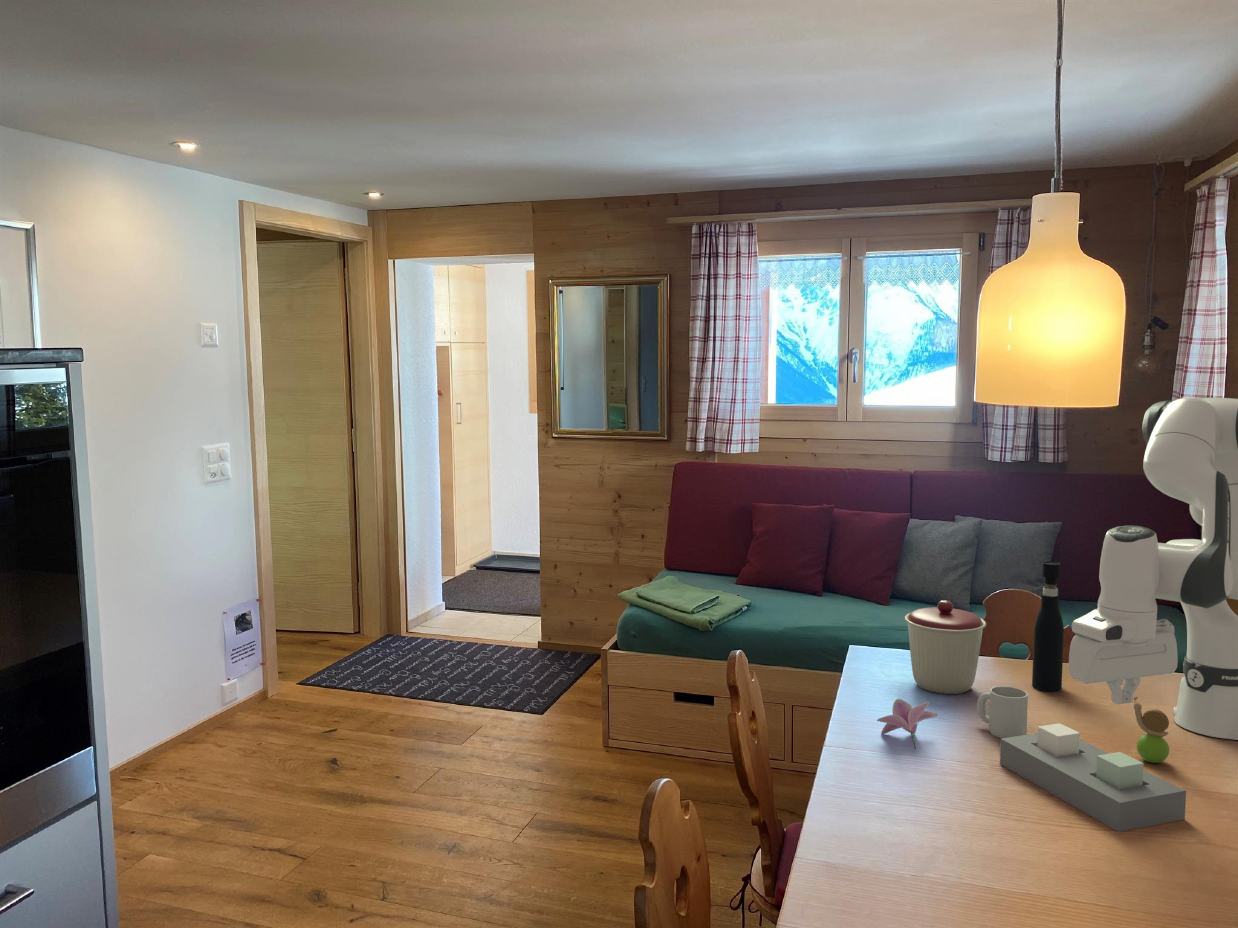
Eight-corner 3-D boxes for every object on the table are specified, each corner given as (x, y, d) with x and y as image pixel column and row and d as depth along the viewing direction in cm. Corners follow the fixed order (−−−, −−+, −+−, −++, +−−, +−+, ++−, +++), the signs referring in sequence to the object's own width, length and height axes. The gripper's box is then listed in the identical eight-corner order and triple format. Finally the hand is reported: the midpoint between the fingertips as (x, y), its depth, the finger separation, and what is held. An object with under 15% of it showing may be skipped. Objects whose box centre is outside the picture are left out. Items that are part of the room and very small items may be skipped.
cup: (1019, 743, 188) (1021, 700, 187) (970, 731, 194) (971, 689, 194) (1031, 732, 193) (1032, 691, 192) (982, 721, 200) (984, 680, 199)
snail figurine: (1135, 751, 183) (1138, 692, 182) (1172, 761, 179) (1175, 700, 177) (1126, 760, 179) (1129, 699, 178) (1163, 770, 175) (1166, 708, 174)
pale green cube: (1118, 779, 163) (1119, 751, 163) (1142, 791, 158) (1143, 763, 158) (1095, 783, 162) (1096, 755, 161) (1118, 795, 157) (1120, 767, 156)
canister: (977, 677, 228) (980, 593, 226) (989, 703, 210) (992, 612, 208) (900, 672, 232) (902, 589, 230) (906, 697, 215) (908, 608, 212)
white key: (1058, 748, 176) (1059, 723, 176) (1078, 758, 172) (1079, 732, 171) (1036, 752, 175) (1037, 726, 174) (1056, 762, 170) (1057, 736, 170)
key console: (1059, 754, 182) (1060, 729, 182) (1184, 818, 156) (1186, 790, 155) (999, 763, 178) (1000, 738, 178) (1118, 831, 152) (1119, 802, 151)
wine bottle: (1066, 691, 217) (1071, 565, 214) (1038, 692, 217) (1043, 565, 214) (1054, 682, 224) (1059, 560, 221) (1027, 682, 224) (1031, 560, 221)
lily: (947, 744, 190) (934, 697, 194) (941, 742, 180) (927, 692, 184) (889, 755, 194) (877, 709, 198) (880, 754, 184) (867, 704, 187)
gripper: (1158, 613, 163) (1153, 690, 165) (1063, 622, 157) (1060, 702, 158) (1190, 622, 157) (1185, 702, 159) (1093, 632, 151) (1089, 715, 152)
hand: (1121, 702), depth 158 cm, fingers closed
